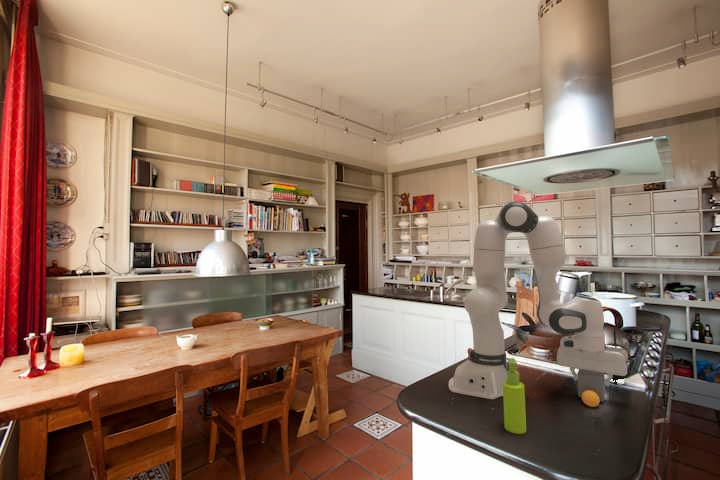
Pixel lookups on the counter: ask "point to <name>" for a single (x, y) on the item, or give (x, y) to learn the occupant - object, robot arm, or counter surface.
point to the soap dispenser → (514, 401)
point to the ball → (590, 398)
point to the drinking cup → (616, 377)
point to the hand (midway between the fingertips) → (591, 382)
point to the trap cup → (591, 382)
